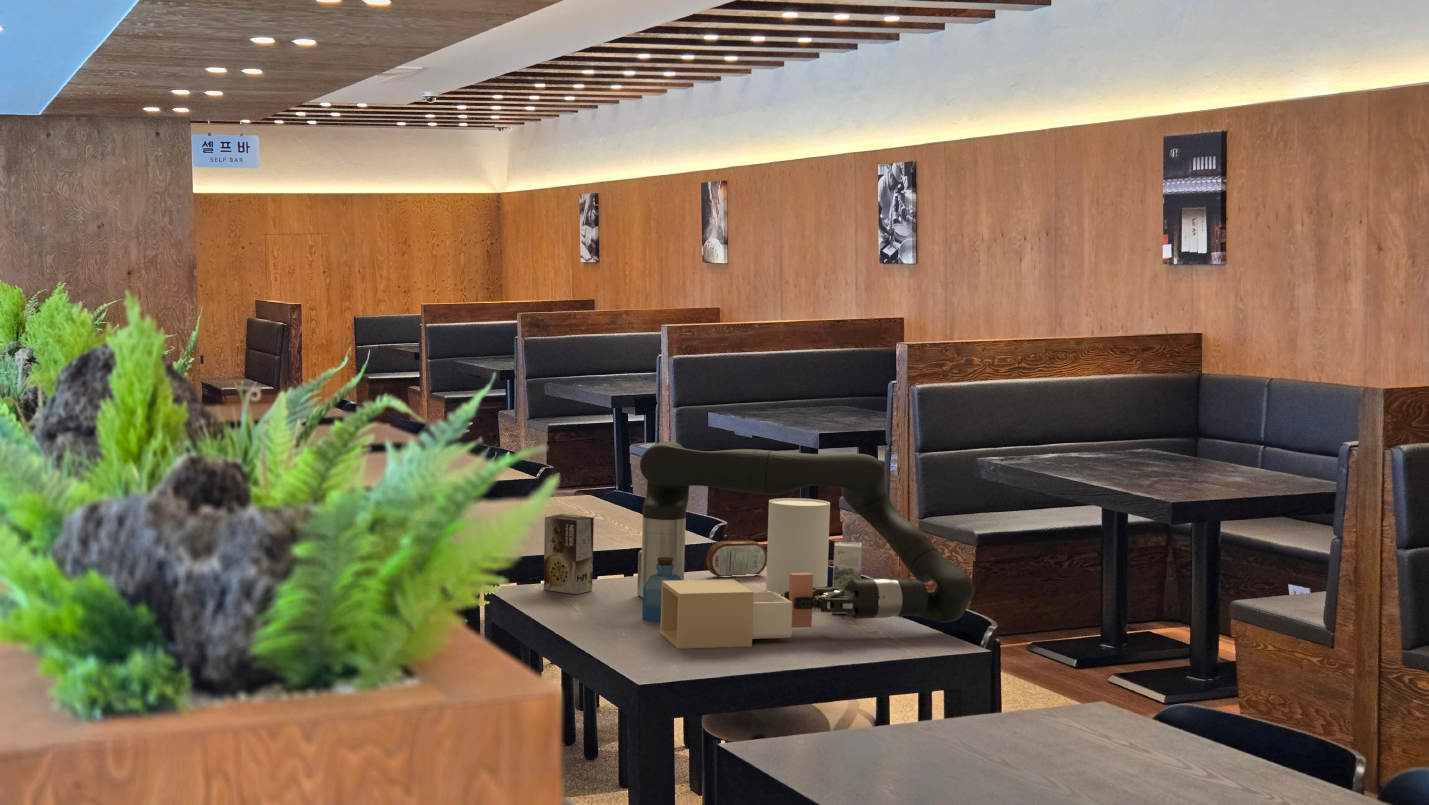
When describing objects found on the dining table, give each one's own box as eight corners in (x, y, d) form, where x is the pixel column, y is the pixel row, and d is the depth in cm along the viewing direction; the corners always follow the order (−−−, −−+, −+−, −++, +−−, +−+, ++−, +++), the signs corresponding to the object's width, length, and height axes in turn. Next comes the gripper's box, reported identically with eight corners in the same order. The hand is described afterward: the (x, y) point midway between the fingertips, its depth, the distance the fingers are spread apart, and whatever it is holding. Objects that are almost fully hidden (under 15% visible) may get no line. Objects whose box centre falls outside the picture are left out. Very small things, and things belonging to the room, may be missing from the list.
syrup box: (859, 610, 298) (862, 541, 297) (859, 616, 292) (862, 545, 291) (832, 609, 298) (834, 540, 297) (831, 614, 292) (834, 544, 292)
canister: (819, 599, 309) (823, 507, 308) (759, 594, 313) (762, 503, 312) (832, 588, 322) (835, 500, 321) (774, 584, 326) (777, 496, 325)
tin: (762, 574, 339) (763, 539, 338) (768, 576, 336) (769, 541, 335) (704, 577, 332) (705, 541, 332) (709, 579, 330) (710, 543, 329)
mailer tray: (723, 639, 260) (725, 580, 260) (708, 627, 271) (709, 570, 270) (819, 636, 266) (821, 578, 265) (800, 624, 276) (802, 568, 275)
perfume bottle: (684, 617, 285) (686, 557, 284) (670, 622, 279) (672, 562, 279) (656, 614, 288) (658, 554, 287) (642, 619, 282) (644, 559, 281)
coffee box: (593, 591, 310) (595, 517, 309) (575, 595, 305) (577, 520, 304) (560, 585, 315) (562, 513, 314) (541, 589, 310) (543, 515, 309)
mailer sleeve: (677, 648, 257) (679, 593, 256) (660, 633, 269) (661, 580, 269) (751, 646, 261) (753, 592, 260) (731, 631, 273) (733, 579, 273)
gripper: (860, 572, 281) (778, 574, 276) (888, 585, 267) (803, 587, 262) (858, 610, 281) (776, 612, 276) (887, 625, 267) (801, 628, 263)
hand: (790, 600), depth 269 cm, fingers open, 5 cm apart
